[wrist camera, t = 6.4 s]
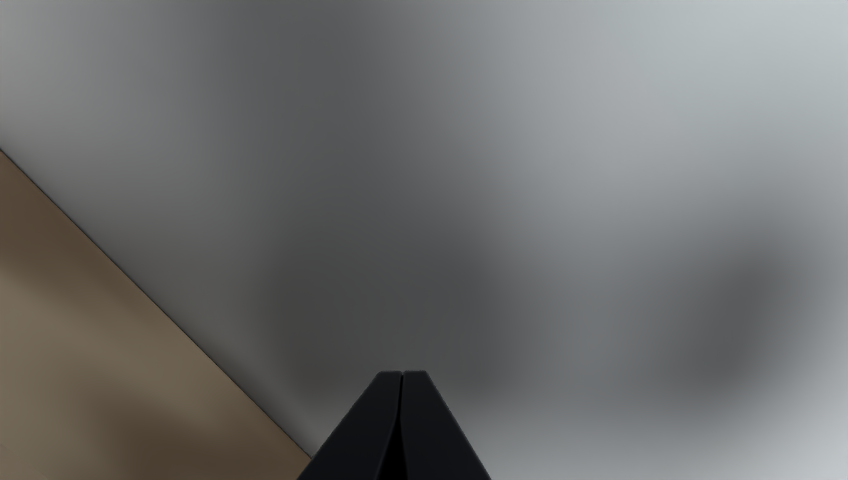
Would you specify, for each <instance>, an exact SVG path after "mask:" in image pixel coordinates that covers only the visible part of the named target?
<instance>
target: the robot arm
mask: <svg viewBox="0 0 848 480" xmlns="http://www.w3.org/2000/svg"><path fill="white" fill-rule="evenodd" d="M296 480H492V479H491V478H490V476H489V474H488V473H487V471H486V469H485V468H484V466H483V464H482V463H481V461H480V459H479V458H478V456H477V454H476V453H475V451H474V449H473V448H472V446H471V444H470V443H469V441H468V439H467V438H466V436H465V434H464V433H463V431H462V429H461V428H460V426H459V425H458V423H457V421H456V420H455V418H454V416H453V415H452V413H451V411H450V410H449V408H448V406H447V405H446V403H445V401H444V400H443V398H442V396H441V395H440V393H439V391H438V390H437V388H436V386H435V385H434V383H433V381H432V380H431V378H430V376H429V375H428V373H427V372H426V371H424V370H412V371H405V372H404V373H403V374H402V372H401V371H381V372H379V373H378V374H377V375H376V377H375V378H374V379H373V381H372V382H371V383H370V384H369V386H368V387H367V388H366V390H365V391H364V392H363V394H362V395H361V396H360V397H359V399H358V400H357V401H356V403H355V404H354V405H353V406H352V408H351V409H350V410H349V412H348V413H347V414H346V415H345V417H344V418H343V419H342V421H341V422H340V423H339V425H338V426H337V427H336V428H335V430H334V431H333V432H332V434H331V435H330V436H329V437H328V439H327V440H326V441H325V443H324V444H323V445H322V447H321V448H320V449H319V450H318V452H317V453H316V454H315V456H314V457H313V458H312V459H311V461H310V462H309V463H308V465H307V466H306V467H305V468H304V470H303V471H302V472H301V474H300V475H299V476H298V478H297V479H296Z"/></svg>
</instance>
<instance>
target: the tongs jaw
mask: <svg viewBox="0 0 848 480" xmlns="http://www.w3.org/2000/svg"><path fill="white" fill-rule="evenodd" d="M310 461H311V459H310V458H309V457H308V456H307V455H306V454H305V453H304V452H303V451H302V450H301V449H300V448H299V447H298V446H297V445H296V444H295V443H294V442H293V441H292V440H291V439H290V438H289V437H288V436H287V435H286V434H285V433H284V432H283V431H282V430H281V429H280V428H279V427H278V426H277V425H276V424H275V423H274V422H273V421H272V420H271V419H270V418H269V417H268V416H267V415H266V414H265V413H264V412H263V411H262V410H261V409H260V408H259V407H258V406H257V405H256V404H255V403H254V402H253V401H252V400H251V399H250V398H249V397H248V396H247V395H246V394H245V393H244V392H243V391H242V390H241V389H240V388H239V387H238V386H237V385H236V384H235V383H234V382H233V381H232V380H231V379H230V378H229V377H228V376H227V375H226V374H225V373H224V372H223V371H222V370H221V369H220V368H219V367H218V366H217V365H216V364H215V363H214V362H213V361H212V360H211V359H210V358H209V357H208V356H207V355H206V354H205V353H204V352H203V351H202V350H201V349H200V348H199V347H198V346H197V345H196V344H195V343H194V342H193V341H192V340H191V339H190V338H189V337H188V336H187V335H186V334H185V333H184V332H183V331H182V330H181V329H180V328H179V327H178V326H177V325H176V324H175V323H174V322H173V321H172V320H171V319H170V318H169V317H168V316H166V315H165V314H164V313H163V312H162V311H161V310H160V309H159V308H158V307H157V306H156V305H155V304H154V303H153V302H152V301H151V300H150V299H149V298H148V297H147V296H146V295H145V294H144V293H143V292H142V291H141V290H140V289H139V288H138V287H137V286H136V285H135V284H134V283H133V282H132V281H131V280H130V279H129V278H128V277H127V276H126V275H125V274H124V273H123V272H122V271H121V270H120V269H119V268H118V267H117V266H116V265H115V264H114V263H113V262H112V261H111V260H110V259H109V258H108V257H107V256H106V255H105V254H104V253H103V252H102V251H101V250H100V249H99V248H98V247H97V246H96V245H95V244H94V243H93V242H92V241H91V240H90V239H89V238H88V237H87V236H86V235H85V234H84V233H83V232H82V231H81V230H80V229H79V228H78V227H77V226H76V225H75V224H74V223H73V222H72V221H71V220H70V219H69V218H68V217H67V216H66V215H65V214H64V213H63V212H62V211H61V210H60V209H59V208H58V207H57V206H56V205H55V204H54V203H53V202H52V201H51V200H50V199H49V198H48V197H47V196H46V195H45V194H44V193H43V192H42V191H41V190H40V189H39V188H38V187H37V186H36V185H35V184H34V183H33V182H32V181H31V180H30V179H29V178H28V177H27V176H26V175H25V174H24V173H23V172H22V171H20V170H19V169H18V168H17V167H16V166H15V165H14V164H13V163H12V162H11V161H10V160H9V159H8V158H7V157H6V156H5V155H4V154H3V153H2V152H1V151H0V480H296V479H297V478H298V476H299V475H300V474H301V472H302V471H303V470H304V468H305V467H306V466H307V465H308V463H309V462H310Z"/></svg>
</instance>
